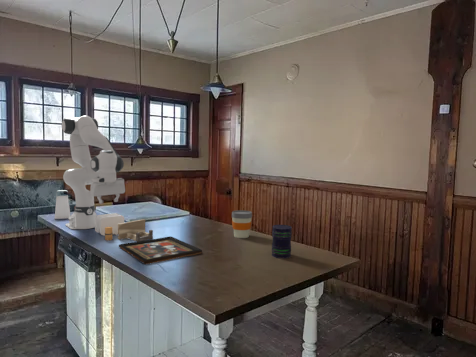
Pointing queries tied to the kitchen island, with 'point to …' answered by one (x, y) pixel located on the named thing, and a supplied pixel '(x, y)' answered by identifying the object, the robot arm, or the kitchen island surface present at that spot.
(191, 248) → the framed icon painting
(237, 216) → the reusable coffee cup
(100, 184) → the robot arm
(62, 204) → the grater
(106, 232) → the banded tan cylinder
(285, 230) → the storage jar
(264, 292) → the kitchen island surface
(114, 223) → the cable organizer
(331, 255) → the kitchen island surface
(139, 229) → the wooden trestle bench
